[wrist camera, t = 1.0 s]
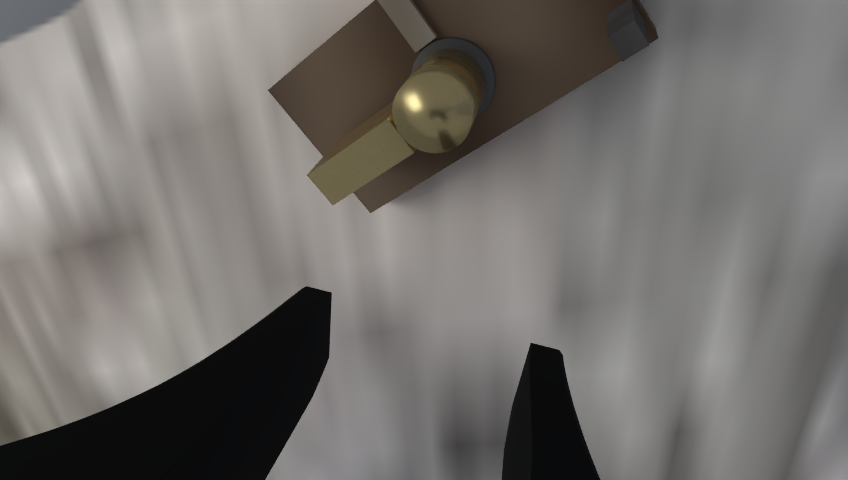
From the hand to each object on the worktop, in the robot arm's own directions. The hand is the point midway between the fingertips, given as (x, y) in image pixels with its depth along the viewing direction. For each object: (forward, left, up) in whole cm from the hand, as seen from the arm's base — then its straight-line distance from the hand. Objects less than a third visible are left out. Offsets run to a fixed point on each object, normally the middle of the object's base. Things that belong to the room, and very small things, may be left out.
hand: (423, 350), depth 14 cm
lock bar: (0, -3, -8) cm, 9 cm away
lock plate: (-1, -3, -9) cm, 10 cm away
